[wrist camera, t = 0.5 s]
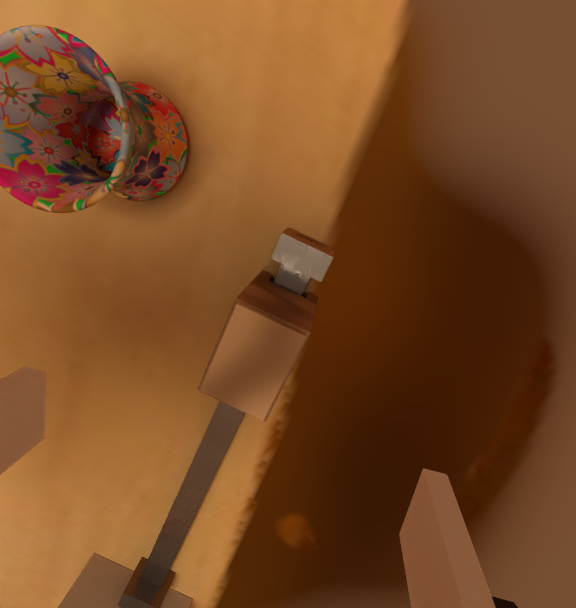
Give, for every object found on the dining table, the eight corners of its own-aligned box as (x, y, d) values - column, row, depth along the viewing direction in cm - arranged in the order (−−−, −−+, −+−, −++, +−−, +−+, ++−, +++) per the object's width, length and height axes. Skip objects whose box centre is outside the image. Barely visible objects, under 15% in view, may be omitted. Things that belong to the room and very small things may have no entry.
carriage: (231, 341, 35) (195, 392, 26) (262, 270, 33) (234, 299, 24) (283, 366, 35) (264, 424, 26) (318, 296, 33) (310, 335, 24)
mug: (212, 107, 30) (147, 65, 20) (177, 223, 33) (104, 238, 23) (65, 45, 30) (-73, -27, 20) (43, 166, 33) (-89, 156, 23)
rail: (136, 569, 44) (117, 605, 40) (288, 227, 32) (281, 232, 28) (169, 584, 44) (153, 622, 40) (334, 249, 32) (333, 257, 28)
